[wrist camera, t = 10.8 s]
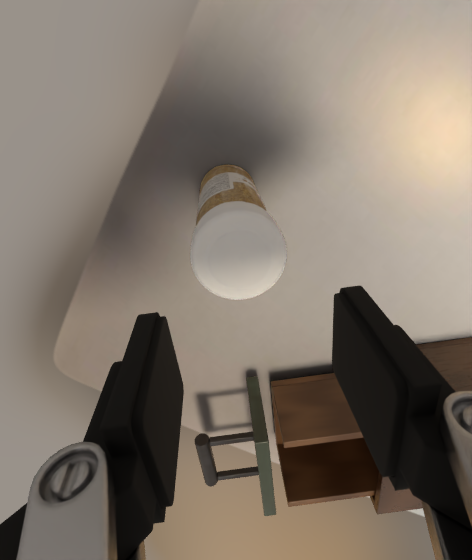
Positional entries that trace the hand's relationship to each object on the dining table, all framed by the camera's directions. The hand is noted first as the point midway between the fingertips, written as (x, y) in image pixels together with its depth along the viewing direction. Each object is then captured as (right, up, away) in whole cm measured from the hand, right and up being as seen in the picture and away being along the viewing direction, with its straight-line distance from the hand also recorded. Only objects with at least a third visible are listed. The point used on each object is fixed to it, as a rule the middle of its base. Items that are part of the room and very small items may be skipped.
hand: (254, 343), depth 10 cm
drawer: (+5, -13, +28) cm, 31 cm away
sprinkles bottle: (-1, +9, +17) cm, 20 cm away
